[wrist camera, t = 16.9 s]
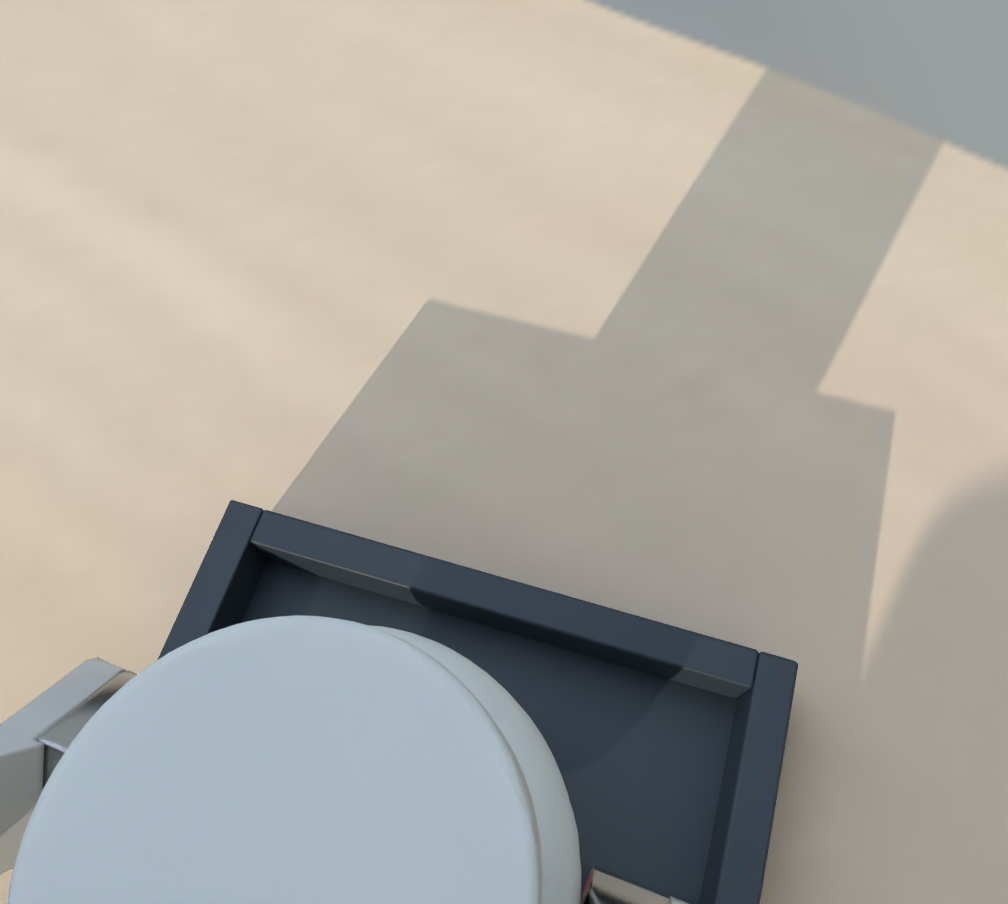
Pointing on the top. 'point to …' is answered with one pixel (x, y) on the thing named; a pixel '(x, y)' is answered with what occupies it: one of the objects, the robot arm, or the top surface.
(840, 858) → the top surface
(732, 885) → the tray
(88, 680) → the robot arm
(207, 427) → the top surface
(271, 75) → the top surface
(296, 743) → the pill bottle
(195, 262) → the top surface
